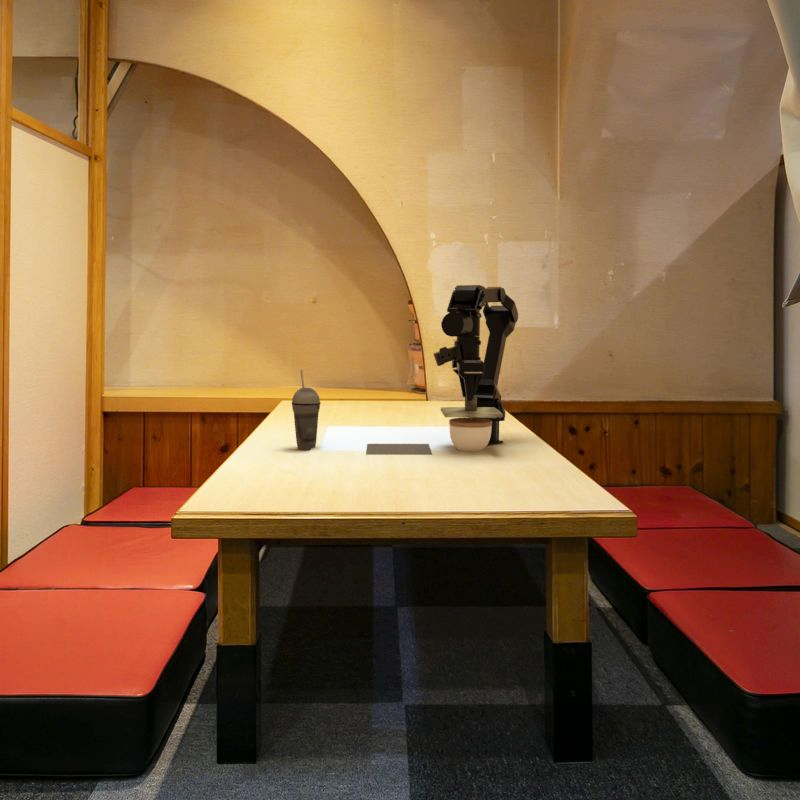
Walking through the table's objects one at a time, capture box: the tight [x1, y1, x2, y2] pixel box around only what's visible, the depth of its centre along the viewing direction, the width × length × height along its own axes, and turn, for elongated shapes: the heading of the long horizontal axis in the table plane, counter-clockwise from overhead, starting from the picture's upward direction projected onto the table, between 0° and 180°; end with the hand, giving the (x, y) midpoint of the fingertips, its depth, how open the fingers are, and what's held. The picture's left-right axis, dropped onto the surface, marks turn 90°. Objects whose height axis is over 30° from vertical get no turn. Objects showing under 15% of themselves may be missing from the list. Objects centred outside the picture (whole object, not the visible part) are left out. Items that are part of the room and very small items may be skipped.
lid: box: [440, 396, 503, 418], centre depth 191 cm, size 14×14×4 cm
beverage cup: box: [291, 369, 321, 451], centre depth 192 cm, size 7×7×20 cm
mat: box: [365, 443, 433, 456], centre depth 191 cm, size 16×16×1 cm
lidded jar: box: [448, 417, 492, 452], centre depth 191 cm, size 11×11×9 cm
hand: (467, 399), depth 190 cm, fingers open, 9 cm apart
